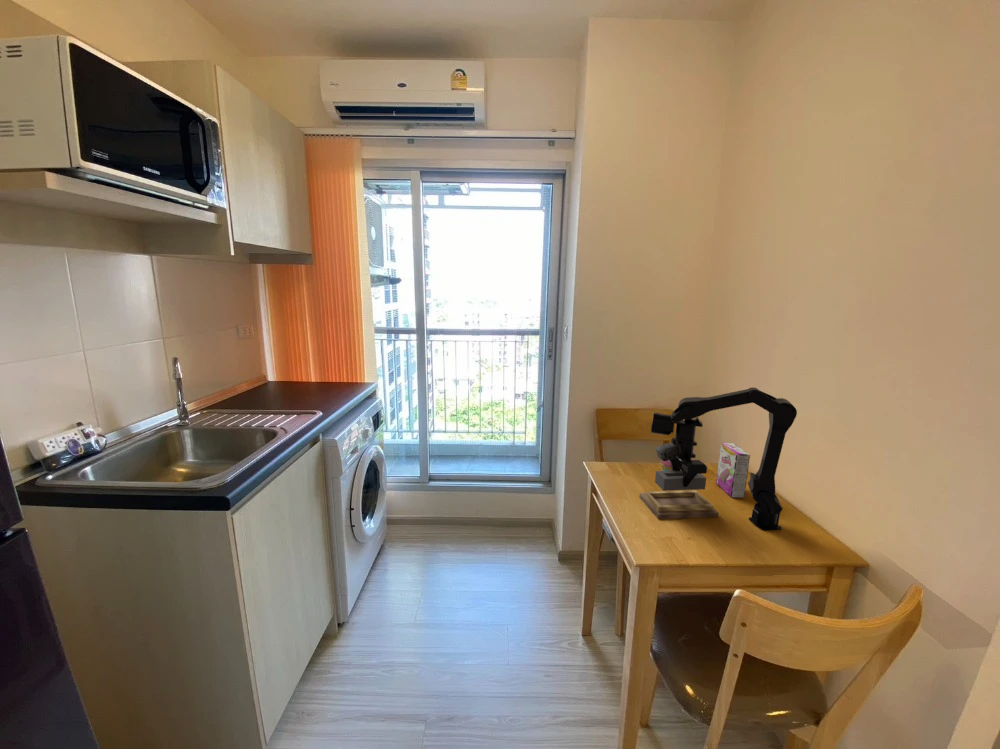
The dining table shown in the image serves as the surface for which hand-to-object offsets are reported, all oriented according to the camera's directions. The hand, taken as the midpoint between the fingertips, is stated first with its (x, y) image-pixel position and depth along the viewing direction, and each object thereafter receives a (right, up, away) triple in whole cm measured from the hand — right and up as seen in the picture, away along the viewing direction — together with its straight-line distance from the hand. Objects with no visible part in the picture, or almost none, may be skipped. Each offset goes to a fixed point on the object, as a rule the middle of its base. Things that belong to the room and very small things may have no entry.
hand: (680, 482), depth 136 cm
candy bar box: (+24, -7, +14) cm, 28 cm away
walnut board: (0, -9, +2) cm, 9 cm away
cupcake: (+8, -4, +26) cm, 28 cm away
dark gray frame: (0, -1, 0) cm, 1 cm away
